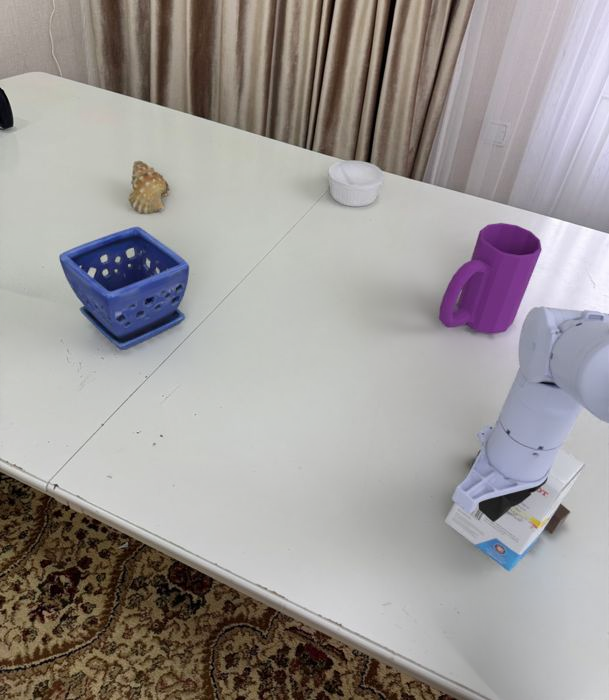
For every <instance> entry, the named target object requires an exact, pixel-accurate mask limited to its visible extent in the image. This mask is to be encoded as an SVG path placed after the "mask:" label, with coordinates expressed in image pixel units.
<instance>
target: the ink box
mask: <svg viewBox="0 0 609 700" xmlns="http://www.w3.org/2000/svg"><path fill="white" fill-rule="evenodd" d="M585 466H586V463H585V462H583V461H581V460H579V459H578V458H576V457H575V456H573V455H572V454H570V453H569V452H568V451H566V450H564V449H562V447H561V448H560V450H559V452H558V454H557V456H556V458H555V461H554V463H553V466H552V468H551V471H550V473H549V475H548V479H547V481H546V483H545V484H544V485H543V486H541V487H540V488H539V489H538V490H536V491H535V492H532V493H531V494H532V495H530V496H529V497H528V498H527V499H525V500H524V501H523V502H521V503H520V504H518V505H516V506H512V507H511V508H510V509H509V510H508V511H507V512H506V513H505V514H504V515H503V516H501V517H500V518H499V519H498V520H496V521H495V522H492V521H491V520H490V519H489V518H488V517H487V516H486V515H485V514H484V513H482V512H481V511H480V510H479V503H478V504H477V507H476V509H475V510H474V511H473V512H472V513H470V514H467V513H466V512H465V511H464V510H463V509H462V508H460V507H459V506H458V505H457V503H455V502H454V503H453V505H452V507H451V508H450V510H449V512H448V514H447V516H446V517H445V519H444V522H445V523H446V524H447V525H448V526H449V527H451V528H452V529H454V530H455V531H456V532H457V533H459V535H461V536H462V537H463V538H465V539H466V540H467V541H469V542H470V543H471V544H472V545H474V546H475V547H476V548H478V549H479V550H480V551H481V552H483V553H484V554H485V555H487V556H488V557H489V558H490V559H492V560H493V561H494V562H495V563H497V564H498V565H500V566H501V567H502V568H503V569H504V570H506V571H507V572H511V571H512V570H513V569H514V568H515V567H516V566H517V564H518V563H519V562H521V560H523V558H525V556H526V554H527V553H528V552H529V551H530V550H531V549H532V548H533V546H534V545H535V543H536V542H537V541H538V539H539V537H540V536H541V535H542V533H543V532H544V530H545V526H546V525H547V523H548V522H549V520H550V519H551V517H552V516H553V514H554V513H555V511H556V510H557V508H558V507H559V505H560V504H562V502H563V500H564V499H565V497H566V496H567V495H568V493H569V491H570V490H571V489H572V486H574V484H575V482H576V481H577V479H578V477H579V476H580V474H581V473H582V471H583V470H584V469H585Z"/></svg>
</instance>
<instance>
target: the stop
mask: <svg viewBox="0 0 609 700" xmlns="http://www.w3.org/2000/svg"><path fill="white" fill-rule="evenodd" d="M480 451H481V449H480V450H479V451H478V453H477V456H476V458H477V457H478V455H479V453H480ZM476 458H475V459H476ZM570 514H571V510H569V509H568V508H567V507H566V506H565V505H563V504H562V503H561V504H560V505H559V507H558V508H557V510H556V511H555V513H554V514H553V516H552V517H551V519H550V520H549V522H548V523H547V525H546V526H545V528H544V530H546V531H547V532H549V533H550V534H551V535H553V534H554V533H555V532H557V531H558V530H559V529H560V528H561V527H562V526H563V524H564V523H565V521H566V519H567V518H568V517H569V515H570Z"/></svg>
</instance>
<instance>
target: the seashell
mask: <svg viewBox="0 0 609 700" xmlns="http://www.w3.org/2000/svg"><path fill="white" fill-rule="evenodd" d="M132 169H133V170H132V175H131V182H130V183H131V185H132V189H133V190H132V191H131V193H130V194H129V195H128V197H127V198H128V201H129V203H130V206H131V207H132V208H133V210H134V211H136V212H137V213H139V214H143V215H147V214H149V215H150V214H154V213H157V212H158V211H159V212H162V211H164V210H165V206H164V204H163V202H162V199H164V198H167V197H168V195H170V189H171V188H170V186H169V184H168V182H167V180H165V178H164V176H163V175H162V174H161V173H160V172H158V171H155V168H154V167H151V166H149V165H148V164H147V163H145V162H143V161H142V160H137V161H134V162H133V166H132Z"/></svg>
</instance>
